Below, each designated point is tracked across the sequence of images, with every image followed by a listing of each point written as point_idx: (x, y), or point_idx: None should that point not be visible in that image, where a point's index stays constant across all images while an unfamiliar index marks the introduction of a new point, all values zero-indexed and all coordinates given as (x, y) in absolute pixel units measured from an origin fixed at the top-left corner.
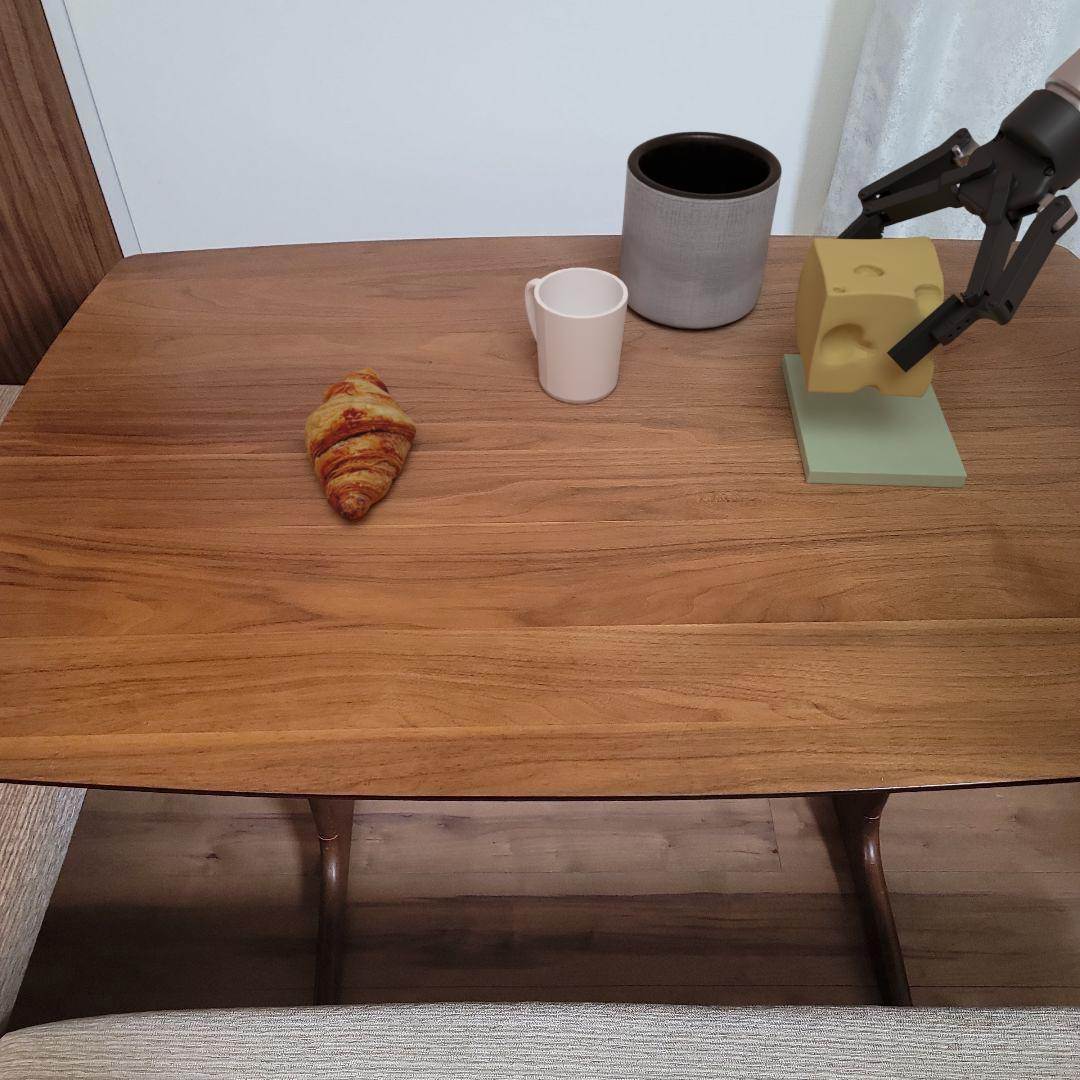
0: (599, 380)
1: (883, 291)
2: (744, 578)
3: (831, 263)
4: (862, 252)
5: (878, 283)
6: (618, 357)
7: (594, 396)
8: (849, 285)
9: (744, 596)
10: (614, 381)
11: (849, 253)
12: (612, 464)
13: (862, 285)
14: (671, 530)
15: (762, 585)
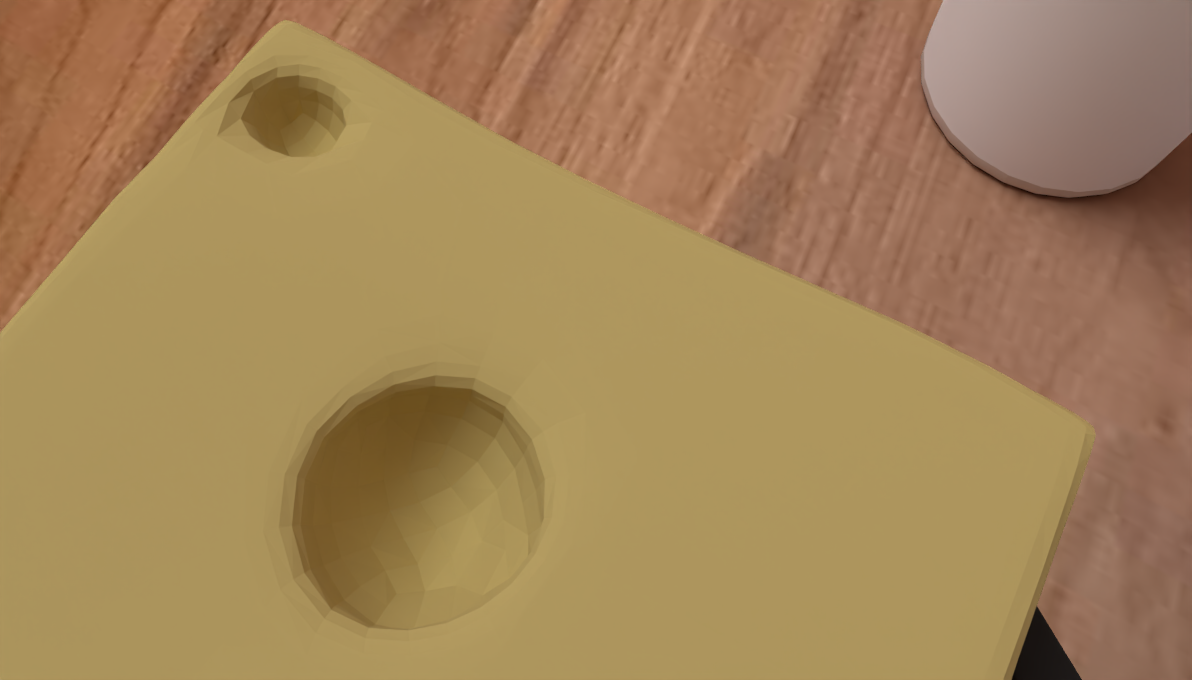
0: (948, 37)
1: (22, 319)
2: (58, 97)
3: (653, 284)
4: (715, 640)
5: (166, 386)
6: (1017, 81)
7: (926, 67)
8: (280, 178)
9: (7, 67)
10: (972, 130)
11: (742, 515)
12: (632, 17)
13: (217, 253)
14: (319, 29)
15: (8, 123)
